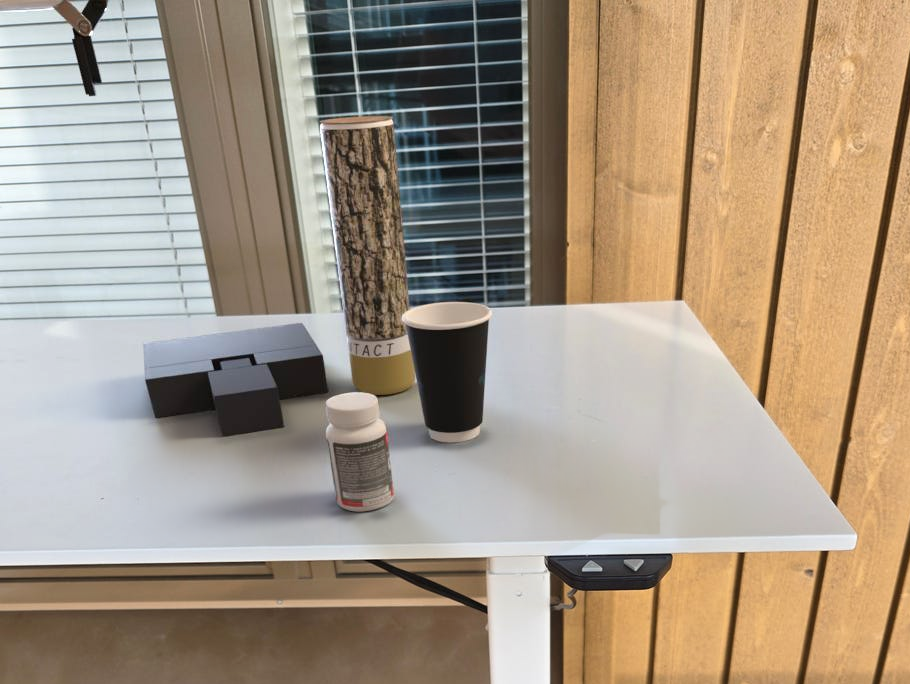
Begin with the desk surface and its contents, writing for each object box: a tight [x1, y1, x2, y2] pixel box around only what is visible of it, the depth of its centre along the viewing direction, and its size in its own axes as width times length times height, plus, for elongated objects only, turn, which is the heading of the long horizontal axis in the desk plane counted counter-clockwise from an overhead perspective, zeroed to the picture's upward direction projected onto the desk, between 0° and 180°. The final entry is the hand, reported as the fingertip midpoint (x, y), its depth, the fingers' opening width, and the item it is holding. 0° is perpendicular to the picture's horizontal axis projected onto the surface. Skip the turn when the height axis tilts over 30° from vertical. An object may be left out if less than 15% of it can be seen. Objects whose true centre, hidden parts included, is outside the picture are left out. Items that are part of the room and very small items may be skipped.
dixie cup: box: [402, 301, 493, 443], centre depth 81 cm, size 8×8×11 cm
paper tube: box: [319, 115, 416, 396], centre depth 88 cm, size 7×7×25 cm
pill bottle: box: [325, 391, 395, 513], centre depth 70 cm, size 5×5×8 cm
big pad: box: [142, 322, 329, 419], centre depth 97 cm, size 18×14×4 cm
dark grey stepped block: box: [208, 358, 285, 437], centre depth 90 cm, size 6×11×4 cm, turn 18°
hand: (29, 99), depth 72 cm, fingers open, 9 cm apart
